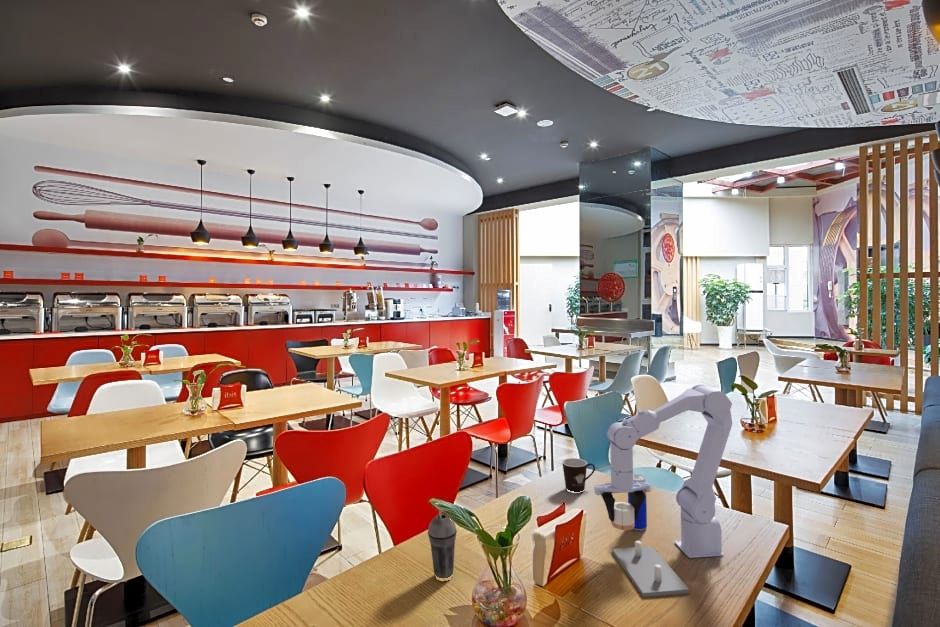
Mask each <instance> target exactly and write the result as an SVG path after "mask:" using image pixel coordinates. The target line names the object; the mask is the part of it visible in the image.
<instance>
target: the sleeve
mask: <svg viewBox="0 0 940 627" xmlns="http://www.w3.org/2000/svg"><path fill="white" fill-rule="evenodd" d="M610 524H611V525H612V527H613V528H615V529H617V530H621V531H631V530H634V529H633V528H634V527H635V520H634V507H633V506H632V505H631V504H629V503H628V502H625V501H615V504H614V521H611V520H610Z"/></svg>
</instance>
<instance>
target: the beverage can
mask: <svg viewBox="0 0 940 627" xmlns="http://www.w3.org/2000/svg"><path fill="white" fill-rule="evenodd" d="M633 482H647V480H646V477H645V476H644V475H641V474H635V473H633ZM643 493H644V494H645V500H644V501H643V503H642V505H641V507H640V509H639V513H638V516H637V520H635V527H634V528H633V529H632V530H634V529H635V531H639V530H640V531H644V530H646V528H648V525H647V524H648V518H647V517H648V516H647V515H648V514H647V513H648V512H647V506H648V505H647V492H646V491H643ZM627 503H629V504H631V499H630V492H629V493H627Z"/></svg>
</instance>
